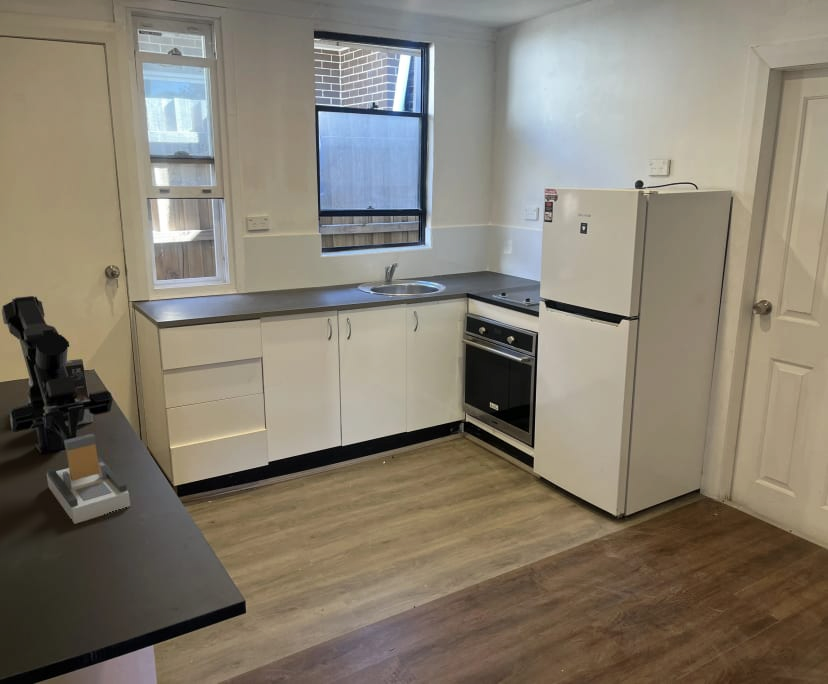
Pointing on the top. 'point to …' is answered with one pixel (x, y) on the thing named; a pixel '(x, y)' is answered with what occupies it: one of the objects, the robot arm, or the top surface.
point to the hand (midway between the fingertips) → (73, 445)
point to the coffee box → (82, 393)
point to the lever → (82, 456)
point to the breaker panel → (89, 492)
